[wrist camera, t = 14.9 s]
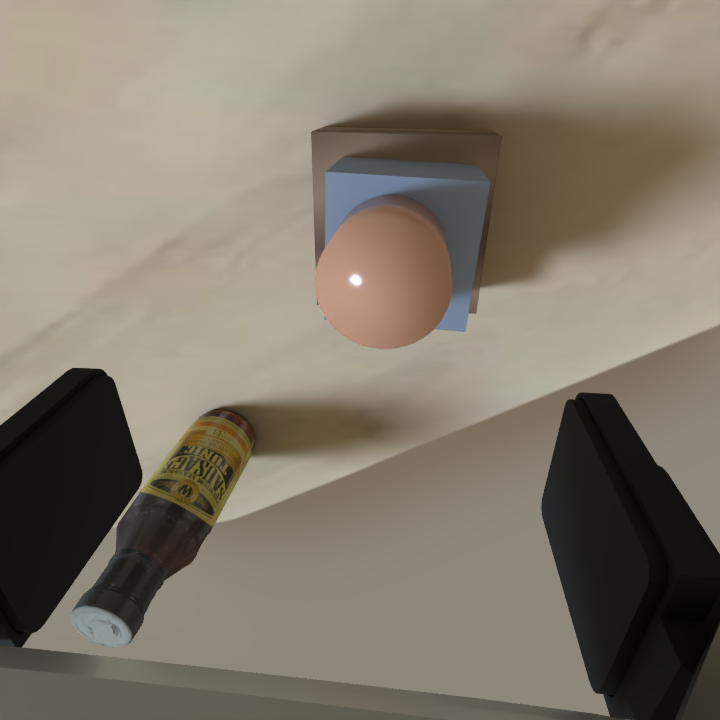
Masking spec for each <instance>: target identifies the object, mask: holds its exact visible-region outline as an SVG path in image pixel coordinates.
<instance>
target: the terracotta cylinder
mask: <svg viewBox="0 0 720 720" xmlns="http://www.w3.org/2000/svg"><path fill="white" fill-rule="evenodd" d="M315 291H316V296H317V300H318V303H319V306H320V308H321V310H322V312H323V314H324V316H325V317H326V319H327V320H328V321H329V323H330V324H331V325H332V326H333V327H334V328H335V329H336V330H337V331H338V332H339V333H340V334H342V335H343V336H345V337H346V338H348V339H349V340H351V341H353V342H355V343H358V344H360V345H363V346H367V347H371V348H378V349H392V348H399V347H403V346H407V345H410V344H412V343H415V342H417V341H418V340H420V339H422V338H424V337H425V336H426V335H428V334H429V333H430V332H431V331H432V330H434V329H435V327H436V326H437V325H438V324H439V323H440V321H441V320H442V318H443V317H444V315H445V313H446V311H447V309H448V306H449V303H450V300H451V295H452V275H451V267H450V259H449V252H448V244H447V239H446V235H445V232H444V230H443V227H442V225H441V224H440V222H439V220H438V219H437V217H436V216H435V215H434V214H433V213H432V212H431V211H430V210H429V209H428V208H427V207H425V206H424V205H423V204H421V203H419V202H418V201H416V200H414V199H411V198H408V197H404V196H400V195H382V196H376V197H373V198H370V199H368V200H366V201H364V202H362V203H360V204H359V205H357V206H356V207H354V208H353V209H352V210H351V211H350V212H349V213H348V214H347V215H346V217H345V218H344V219H343V221H342V222H341V224H340V226H339V227H338V229H337V230H336V232H335V233H334V235H333V237H332V238H331V240H330V241H329V243H328V244H327V246H326V248H325V249H324V251H323V252H322V254H321V257H320V259H319V261H318V265H317V268H316V274H315Z"/></svg>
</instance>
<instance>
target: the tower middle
mask: <svg viewBox="0 0 720 720" xmlns="http://www.w3.org/2000/svg"><path fill="white" fill-rule="evenodd" d="M489 188H490V181H489V179H488V178H487V177H486V175H485V174H484V173H483V171H482V170H481V169H480V167H479V166H478V165H473V164H456V163H439V162H423V161H406V160H389V159H373V158H356V157H342V158H341V159H340V160H338V161H337V162H336V163H335V164H334V165H333V166H331V167H330V168H329V169H328V170H327V171H326V172H325V248H326V246H327V244H328V243H329V241H330V240H331V238H332V237H333V235H334V233H335V232H336V230H337V229H338V227H339V226H340V224H341V222H342V221H343V219H344V218H345V217H346V215H347V214H348V213H349V212H350V211H351V210H352V209H353V208H354V207H356V206H357V205H359V204H360V203H362V202H364V201H366V200H368V199H370V198H373V197H376V196H382V195H400V196H404V197H408V198H411V199H414V200H416V201H418V202H419V203H421V204H423V205H424V206H425V207H427V208H428V209H429V210H430V211H431V212H432V213H433V214H434V215H435V216H436V217H437V219H438V220H439V222H440V224H441V225H442V227H443V230H444V232H445V235H446V239H447V244H448V252H449V259H450V267H451V275H452V295H451V300H450V303H449V306H448V309H447V311H446V313H445V315H444V317H443V318H442V320H441V321H440V323H439V324H438V325H437V326H436V327H435V329H439V330H450V331H462V332H465V330H466V325H467V319H468V313H469V307H470V301H471V295H472V289H473V283H474V277H475V271H476V265H477V259H478V253H479V247H480V241H481V235H482V229H483V223H484V217H485V211H486V205H487V199H488V193H489ZM325 320H327V319H326V317H325Z"/></svg>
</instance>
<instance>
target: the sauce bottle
mask: <svg viewBox="0 0 720 720" xmlns="http://www.w3.org/2000/svg"><path fill="white" fill-rule="evenodd" d="M254 445H255V436H254V432H253V430H252V428H251V427H250V426H249V424H248V423H247V422H246V421H245V420H244V419H243V418H242V417H240V416H238V415H237V414H235V413H232V412H229V411H223V410H212V411H209V412H207V413H206V414H203V415H202V416H201V417H200V418H199V419H198V420H196V421H195V422H194V423H193V424H192V425H191V426H190V427H189V429H188V430H187V431H186V433H185V434H184V435H183V437H182V438H181V439H180V440H179V442H178V443H177V444H176V445H175V447H174V448H173V449H172V451H171V452H170V453H169V454H168V456H167V457H166V458H165V460H164V461H163V462H162V463H161V465H160V466H159V467H158V469H157V470H156V471H155V473H154V474H153V475H152V477H151V478H150V479H149V481H148V482H147V483H146V485H145V486H144V487H143V489H142V490H141V492H140V493H139V495H138V496H137V498H136V499H135V501H134V502H133V503H132V505H131V506H130V508H129V509H128V510H127V512H126V513H125V515H124V516H123V517H122V519H121V520H120V522H119V523H118V526H117V538H116V552H115V555H113V557H112V558H111V559H110V561H109V564H108V566H107V567H106V569H105V570H104V572H103V573H102V574H101V576H100V577H99V579H98V580H97V582H96V583H95V584H94V586H93V587H92V588H91V589H90V590H88V591H87V592H86V593H85V594H84V595H83V596H82V597H81V599H80V600H79V602H78V603H77V605H76V606H75V608H74V609H73V611H72V613H71V621H72V624H73V625H74V627H75V628H76V630H77V631H78V632H79V633H80V634H81V635H83V636H84V637H86V638H87V639H89V640H91V641H93V642H95V643H98V644H101V645H103V646H108V647H118V646H125V645H127V644H129V643H130V642H131V641H132V639H133V638H134V636H135V635H136V633H137V632H138V630H139V629H140V626H142V623H143V620H144V614H145V612H146V611H147V608H148V606H149V604H150V602H151V600H152V599H153V597H154V596H155V594H156V592H157V590H158V589H160V588H161V586H162V585H163V582H164V580H166V579H167V578H169V577H170V576H172V575H173V574H175V573H176V572H178V571H179V570H181V569H182V568H184V567H185V566H187V565H189V564H190V563H191V562H192V561H193V560H194V558H195V557H196V555H197V552H198V550H199V548H200V546H201V544H202V543H203V541H204V539H205V538H206V536H207V535H208V534H209V533H210V531H211V530H212V528H213V526H214V524H215V522H216V520H217V518H218V517H219V515H220V513H221V511H222V509H223V507H224V505H225V503H226V502H227V500H228V498H229V496H230V494H231V492H232V490H233V489H234V487H235V485H236V483H237V481H238V479H239V477H240V475H241V474H242V472H243V470H244V468H245V466H246V464H247V463H248V461H249V459H250V456H251V452H252V451H253V448H254Z"/></svg>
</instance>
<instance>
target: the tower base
mask: <svg viewBox="0 0 720 720" xmlns="http://www.w3.org/2000/svg"><path fill="white" fill-rule="evenodd" d="M501 137H502V136H500V135H499V134H497V133H495V132H493V131H492V130H458V129H413V128H369V127H322V128H320V129H317V130H315V131H312V132H311V139H312V169H313V199H314V229H315V259H316V268H317V265H318V261H319V259H320V257H321V254H322V252H323V251H324V249H325V172H326V171H327V170H328V169H329V168H330V167H331V166H333V165H334V164H335V163H336V162H337V161H338V160H340V159H341V158H342V157H356V158H373V159H389V160H406V161H423V162H439V163H456V164H473V165H478V166H479V167H480V169H481V170H482V171H483V173H484V174H485V175H486V177H487V178H488V179H489V181H490V188H489V193H488V199H487V205H486V211H485V217H484V223H483V229H482V235H481V241H480V247H479V253H478V259H477V265H476V271H475V277H474V283H473V289H472V295H471V301H470V307H469V313H474V314H476V311H477V304H478V297H479V290H480V283H481V276H482V269H483V262H484V255H485V248H486V241H487V234H488V227H489V220H490V213H491V206H492V199H493V192H494V185H495V178H496V171H497V164H498V157H499V151H500V144H501ZM317 305H319V303H318V300H317Z"/></svg>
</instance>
